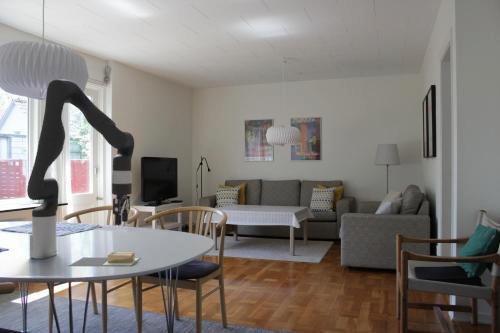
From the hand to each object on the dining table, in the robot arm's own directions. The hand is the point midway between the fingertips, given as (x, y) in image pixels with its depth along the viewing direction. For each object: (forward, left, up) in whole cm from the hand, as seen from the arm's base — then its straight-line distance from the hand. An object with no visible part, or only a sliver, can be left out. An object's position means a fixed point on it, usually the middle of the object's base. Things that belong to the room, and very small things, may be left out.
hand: (121, 223), depth 164 cm
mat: (-6, 0, -16) cm, 17 cm away
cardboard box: (0, 0, -15) cm, 15 cm away
